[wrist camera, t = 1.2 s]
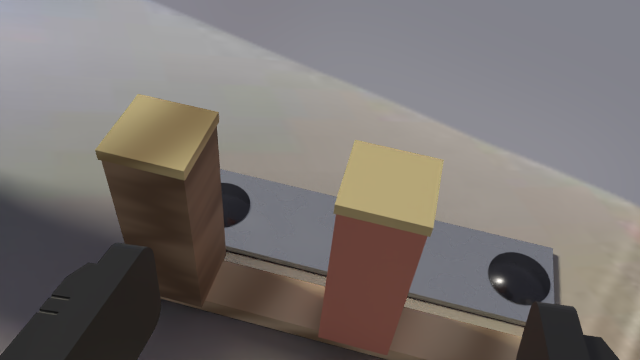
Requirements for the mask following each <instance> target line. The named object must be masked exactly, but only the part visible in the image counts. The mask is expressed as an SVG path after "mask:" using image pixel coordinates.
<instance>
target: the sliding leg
mask: <svg viewBox="0 0 640 360" xmlns="http://www.w3.org/2000/svg"><path fill="white" fill-rule="evenodd" d="M443 161H444V160H442V159H438V158H433V157H429V156H424V155H420V154H415V153H411V152H407V151H402V150H398V149H393V148H389V147H384V146H380V145H375V144H371V143H367V142H362V141H358V140H355V142H354V145H353V148H352V151H351V154H350V158H349V161H348V164H347V167H346V170H345V173H344V177H343V180H342V183H341V186H340V189H339V192H338V196H337V199H336V202H335V206H334V213H333V214H336V217H335V224H334V231H333V238H332V245H331V252H330V258H329V265H328V272H327V279H326V286H325V293H324V300H323V306H322V313H321V320H320V327H319V334H318V337H320V338H324V339H327V340H331V341H335V342H339V343H342V344H346V345H350V346H353V347H357V348H361V349H365V350H368V351H372V352H376V353H380V354H383V355H388V352H389V349H390V346H391V343H392V340H393V337H394V334H395V331H396V328H397V325H398V322H399V319H400V316H401V313H402V310H403V307H404V304H405V301H406V299H407V296H408V293H409V290H410V287H411V284H412V281H413V278H414V275H415V272H416V269H417V266H418V263H419V260H420V257H421V254H422V251H423V248H424V246H425V243H426V240H427V237H430V236H431V233H432V231H433V227H434V220H435V214H436V207H437V200H438V194H439V187H440V181H441V174H442V167H443Z"/></svg>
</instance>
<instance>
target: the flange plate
mask: <svg viewBox="0 0 640 360" xmlns="http://www.w3.org/2000/svg"><path fill="white" fill-rule="evenodd" d="M220 177H221V191H222V204H223V218H224V231H225V245H226V250H227V251H231V252H235V253H239V254H243V255H247V256H251V257H255V258H259V259H263V260H266V261H270V262H274V263H278V264H282V265H286V266H290V267H294V268H298V269H302V270H306V271H310V272H313V273H317V274H321V275H325V276H327V272H328V265H329V258H330V252H331V245H332V238H333V231H334V224H335V217H336V214H333V213H334V206H335V202H336V199H337V197H335V196H331V195H327V194H323V193H318V192H314V191H310V190H306V189H302V188H297V187H293V186H289V185H285V184H281V183H276V182H272V181H268V180H264V179H260V178H255V177H251V176H247V175H243V174H239V173H234V172H230V171H226V170H222V169H220ZM408 297H411V298H415V299H419V300H423V301H427V302H431V303H435V304H439V305H443V306H447V307H451V308H455V309H459V310H462V311H466V312H470V313H474V314H478V315H482V316H486V317H490V318H494V319H498V320H502V321H506V322H509V323H513V324H517V325H521V326H525V325H526V321H527V318H528V314H529V311H530V308H531V305H532V303H533V302H535V301H536V302H543V303H551V304H554V275H553V248H549V247H545V246H541V245H537V244H532V243H528V242H524V241H520V240H516V239H511V238H507V237H503V236H499V235H495V234H490V233H486V232H482V231H478V230H474V229H469V228H465V227H461V226H457V225H453V224H448V223H444V222H440V221H436V220H434V227H433V231H432V233H431V236H430V237H427V240H426V243H425V246H424V248H423V251H422V254H421V257H420V260H419V263H418V266H417V269H416V272H415V275H414V278H413V281H412V284H411V287H410V290H409V293H408Z"/></svg>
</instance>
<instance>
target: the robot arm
mask: <svg viewBox="0 0 640 360" xmlns="http://www.w3.org/2000/svg"><path fill="white" fill-rule="evenodd" d="M160 310H161V297H160V290H159V284H158V277H157V271H156V264H155V258H154V253H153V250H152V249H151V248H150V247H144V246H137V245H130V244H122V243H115V244H113V245H112V246H111V247H110V248H109V250H108V251H107V252H106V253H105V255H104V256H103V257H102V258H101V260H100V261H99V262H98V263H97V264H94V263H87V264H86V265H84V266H83V267H81V268H79V269H78V270H76V271H75V272H73V273H72V274H70V275H69V276H67V277H66V278H65V279H64V281H63V282H62V283H61V284H60V285H59V286H58V288H57V289H56V290H55V291H54V292H53V294H52V297H51V298H48V300H47V301H46V302H45V303H44V304H43V305H42V307H41V308H40V311H39V313H36V314H35V315H34V316H33V317H32V319H31V320H30V321H29V322H28V323H27V325H26V326H25V327H24V328H23V329H22V330H21V332H20V333H19V334H18V335H17V336H16V338H15V339H14V340H13V341H12V342H11V344H10V345H9V346H8V347H7V348H6V349H5V351H4V352H3V353H2V354H1V355H0V360H137V359H138V357H139V355H140V353H141V352H142V350H143V348H144V346H145V345H146V343H147V341H148V339H149V338H150V336H151V334H152V333H153V331H154V329H155V327H156V325H157V322H158V319H159V315H160ZM516 360H619V359H618V357H617V356H616V355H615V354H614V352H613V351H612V350H611V349H610V348H609V346H608V345H607V344H606V343H605V342H604V340H603V339H602V338H601V337H594V336H587V335H583V332H582V328H581V325H580V321H579V318H578V314H577V311H576V309H575V308H574V307H572V306H565V305H558V304H551V303H543V302H536V301H535V302H533V303H532V305H531V308H530V311H529V314H528V318H527V321H526V325H525V328H524V332H523V335H522V339H521V342H520V346H519V349H518V353H517V357H516Z"/></svg>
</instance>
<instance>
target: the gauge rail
mask: <svg viewBox="0 0 640 360" xmlns="http://www.w3.org/2000/svg"><path fill="white" fill-rule="evenodd" d="M218 123H219V113H218V112H215V111H211V110H207V109H202V108H198V107H193V106H189V105H184V104H180V103H176V102H171V101H167V100H162V99H158V98H154V97H149V96H145V95H140V94H138V95H137V96H136V97H135V99H134V100H133V101H132V103H131V104H130V105H129V107H128V108H127V109H126V110H125V112H124V113H123V114H122V116H121V117H120V118H119V119H118V121H117V122H116V123H115V125H114V126H113V127H112V129H111V130H110V131H109V132H108V134H107V135H106V136H105V138H104V139H103V140H102V142H101V143H100V144H99V145H98V147H97V148H96V149H95V151H96V155H97V158H98V160H102V164H103V167H104V171H105V175H106V178H107V182H108V185H109V189H110V192H111V196H112V199H113V203H114V206H115V210H116V214H117V217H118V221H119V224H120V228H121V231H122V235H123V238H124V242H125V244H130V245H137V246H144V247H150V248H151V249H152V250H153V253H154V258H155V264H156V271H157V277H158V284H159V290H160V297H161V299H164V300H167V301H171V302H175V303H179V304H182V305H186V306H190V307H193V308H197V309H201V310H205V311H208V312H212V313H216V314H220V315H223V316H227V317H231V318H234V319H238V320H242V321H246V322H249V323H253V324H257V325H260V326H264V327H268V328H272V329H275V330H279V331H283V332H286V333H290V334H294V335H298V336H301V337H305V338H309V339H312V340H316V341H320V342H324V343H327V344H331V345H335V346H338V347H342V348H346V349H350V350H353V351H357V352H361V353H364V354H368V355H372V356H376V357H379V358H383V359H387V360H516V357H517V353H518V349H519V346H520V342H521V339H522V337H519V336H515V335H511V334H507V333H504V332H500V331H496V330H492V329H488V328H484V327H480V326H476V325H472V324H469V323H465V322H461V321H457V320H453V319H449V318H445V317H441V316H438V315H434V314H430V313H426V312H422V311H418V310H414V309H410V308H406V307H403V310H402V313H401V316H400V319H399V322H398V325H397V328H396V331H395V334H394V337H393V340H392V343H391V346H390V349H389V352H388V355H383V354H380V353H376V352H372V351H368V350H365V349H361V348H357V347H353V346H350V345H346V344H342V343H339V342H335V341H331V340H327V339H324V338H320V337H318V334H319V327H320V320H321V313H322V306H323V300H324V293H325V286H321V285H317V284H313V283H309V282H305V281H302V280H298V279H294V278H290V277H286V276H282V275H278V274H274V273H270V272H267V271H263V270H259V269H255V268H251V267H247V266H243V265H239V264H236V263H232V262H228V261H224V258H225V256H226V245H225V231H224V218H223V204H222V191H221V177H220V164H219V150H218V137H217V124H218Z"/></svg>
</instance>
